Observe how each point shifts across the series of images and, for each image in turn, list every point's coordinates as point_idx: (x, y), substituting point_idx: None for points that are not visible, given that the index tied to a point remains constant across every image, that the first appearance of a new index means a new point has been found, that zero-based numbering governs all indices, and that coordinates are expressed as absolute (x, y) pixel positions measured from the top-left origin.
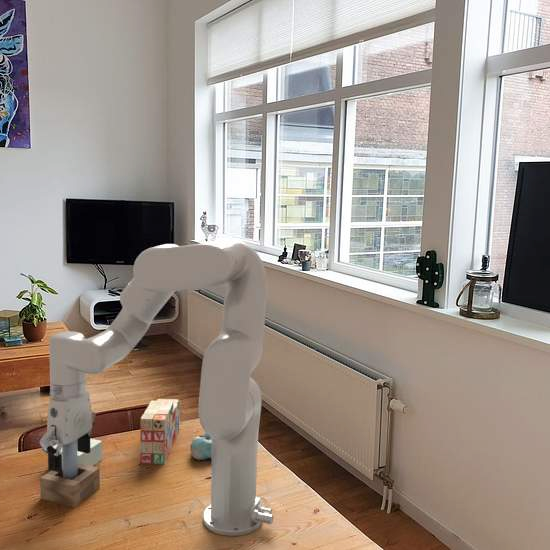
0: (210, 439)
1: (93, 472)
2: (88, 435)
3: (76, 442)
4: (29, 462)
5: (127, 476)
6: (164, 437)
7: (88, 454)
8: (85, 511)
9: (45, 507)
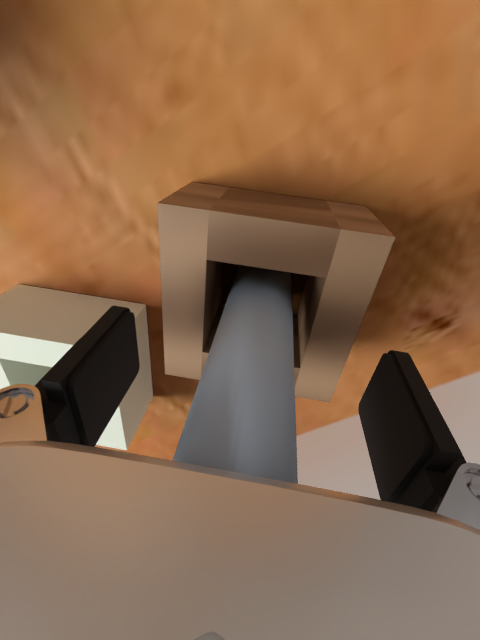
0: None
1: (213, 210)
2: (42, 399)
3: (224, 434)
4: (152, 441)
5: (46, 102)
6: None
7: (61, 328)
8: (395, 133)
9: (373, 307)
